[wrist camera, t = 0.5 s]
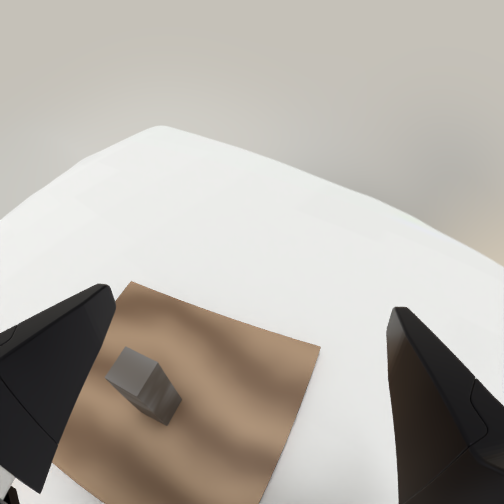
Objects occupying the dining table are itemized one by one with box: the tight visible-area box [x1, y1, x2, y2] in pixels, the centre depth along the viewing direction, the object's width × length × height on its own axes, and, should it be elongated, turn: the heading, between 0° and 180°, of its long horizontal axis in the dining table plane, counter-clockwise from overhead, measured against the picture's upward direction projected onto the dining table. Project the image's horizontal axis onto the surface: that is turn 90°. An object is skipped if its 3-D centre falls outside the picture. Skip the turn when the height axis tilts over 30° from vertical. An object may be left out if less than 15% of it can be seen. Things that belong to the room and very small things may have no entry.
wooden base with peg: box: [52, 281, 321, 504], centre depth 20 cm, size 20×20×8 cm
